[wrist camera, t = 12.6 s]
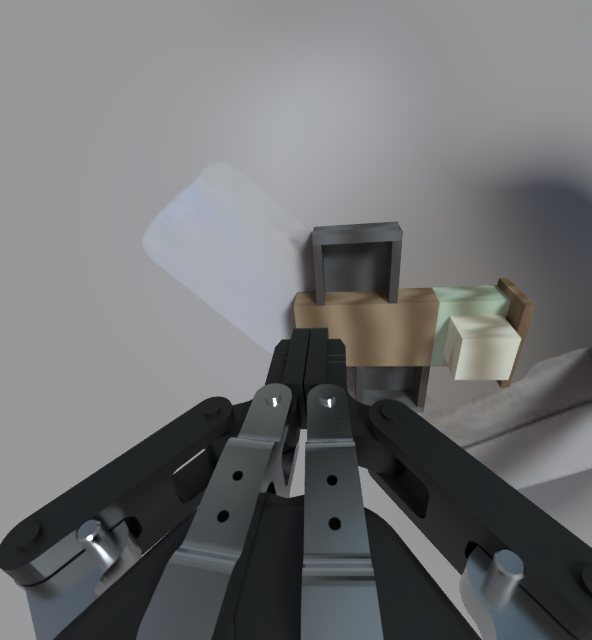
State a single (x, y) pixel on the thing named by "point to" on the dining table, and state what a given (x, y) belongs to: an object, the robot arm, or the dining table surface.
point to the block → (480, 347)
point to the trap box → (392, 311)
